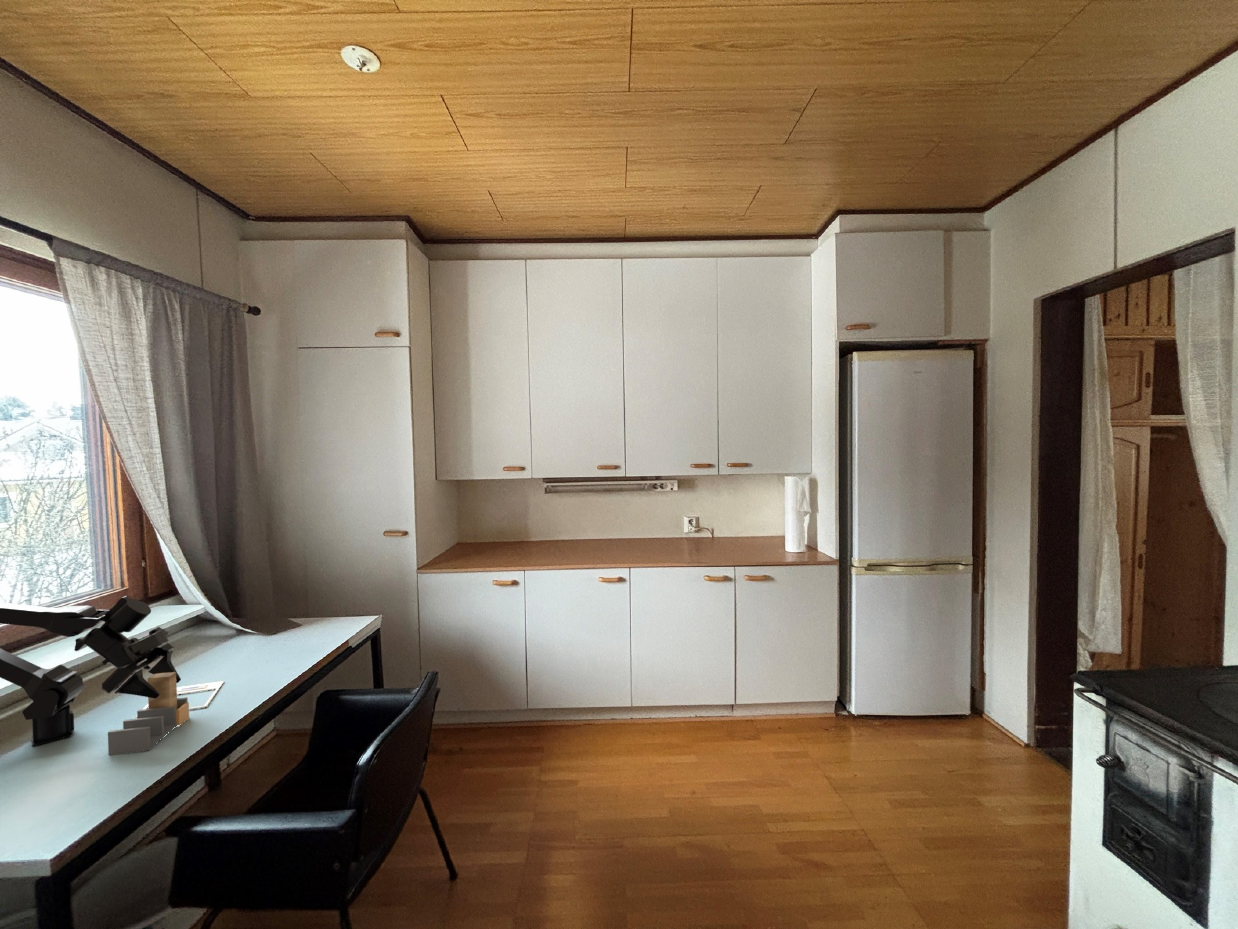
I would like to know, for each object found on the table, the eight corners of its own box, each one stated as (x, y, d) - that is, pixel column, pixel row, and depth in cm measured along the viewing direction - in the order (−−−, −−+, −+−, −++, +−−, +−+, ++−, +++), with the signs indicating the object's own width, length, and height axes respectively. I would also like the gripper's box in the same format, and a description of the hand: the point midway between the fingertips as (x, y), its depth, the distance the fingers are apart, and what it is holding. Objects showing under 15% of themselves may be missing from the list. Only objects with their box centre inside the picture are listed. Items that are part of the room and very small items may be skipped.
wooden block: (149, 724, 137) (147, 678, 137) (156, 718, 140) (154, 673, 140) (170, 722, 138) (169, 676, 138) (177, 716, 141) (176, 672, 141)
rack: (108, 755, 125) (107, 732, 125) (152, 720, 142) (152, 700, 141) (152, 750, 127) (151, 728, 127) (190, 717, 143) (190, 697, 143)
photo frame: (224, 680, 165) (206, 705, 148) (224, 684, 165) (206, 709, 148) (161, 688, 159) (135, 716, 143) (161, 692, 159) (135, 720, 143)
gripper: (115, 633, 129) (174, 677, 131) (163, 610, 147) (213, 650, 150) (75, 671, 127) (135, 716, 130) (128, 644, 146) (180, 683, 148)
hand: (169, 688), depth 139 cm, fingers open, 9 cm apart
